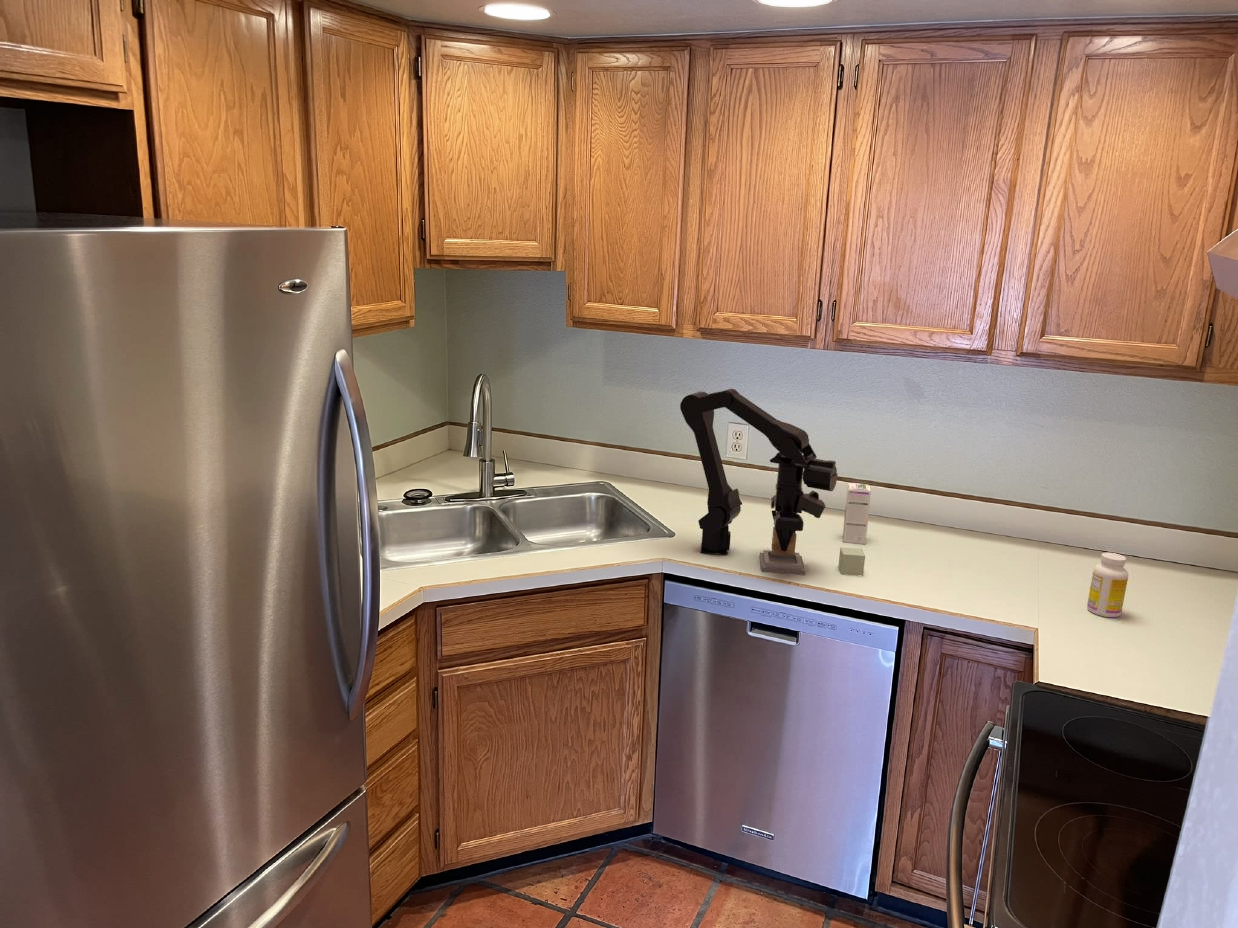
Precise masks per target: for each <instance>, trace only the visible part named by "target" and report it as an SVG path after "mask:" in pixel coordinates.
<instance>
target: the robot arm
mask: <svg viewBox="0 0 1238 928" xmlns="http://www.w3.org/2000/svg"><path fill="white" fill-rule="evenodd" d="M723 408H725V409H727V410H728V411H730V413H732V414H734V415H735V416H737V417H738V418H740V419H742V420H743V421H744V422H746V423H747V424H748V425H750V426H751V427H753V428H754V429H756V430H757V431H759V432H760V433H761V434H763V435H764V436H765V437H766V438H767V439H768V441H769V443H770V444H771V446H773V448H775V449H776V450H777V451H778V452H777V453H776V454H775V455H774V456H772V458H771V459H769V462H770V463H772V464H777V465H778V467H777V478H776V483H775V495H773V496H772V497H771V498H770V508H771V509H774V510H771V515H772V520H773V527H775V530H776V533H777V537H778V540H779V543H780V547H781V550H782V551H787V548H788V545H789V543H790V540H791V537H792V535H793V533H794V532H795V531H796V532H802V531H804V524H805V523H804V519H803V517H802V516H801V515H800V514H802V513H803V512H805V513H807V514H809V515H812V516H814V518H816V519H820V518H821V516H822V514H823V513H824V510H825V509H826V504H825V502H824V501H823V500H822V499H820V495H819V492H817V491H814V490H812V491H810V492H809V493H805V492H804V491H803V487H802V486H803V485H806V488H811V489H816V490H820V491H821V490H823V491H828V492H833V491H834V490H835V488H836V484H837V481H838V475H839V474H838V473H837V471H838V470H837V467H836V461H835V460H824V459H819V458H818V459H817V455H816V453H815V451H814V449H813V447H812V445H811V444H810V438H809V435H808V432H806V431H805V430H804V429H802V428H800V427H797V426H795V425H793V424H791V423H787V422H783V421H782V420H779V419H777V418H775V417H774V416H773V415H771V414H770V413H768V412H767V411H765V410H764V409H762V408H761V407H759V406H758V405H757V404H755V403H754V402H752V401H750V400H749V399H748V398H746V397H745V396H743V395H742V394H740V393H739V392H738V391H737V389H734V388H728V389H726V390H720V391H716V392H712V393H707V392H705V391H697V392H695V393H691V394H688V395H686V396H684V397H683V398H682V399H681V402H680V404H679V409H680V412H681V414H682V416H683V419H684V422H685V423H686V424H687V426H688V427H689V428H690V429H691V430H692V433H693V435H694V439H695V442H696V445H697V449H698V453H699V457H700V460H701V464H702V465H701V466H702V468H703V472H704V473H703V474H704V476H705V479H706V484H707V488H708V493H707V502H706V505H707V513H706V514H705V515H704V516H702V517H701V518H699V519H698V520H697V521H698V526H699V529H701V530H702V531H701V533H702V534H701V535H702V536H701V542H700V553H701V554H709V555H710V554H711V555H724V556H725V555H726V556H727V555H728V551H730V549H731V548H730V545H731V538H732V537H731V536H732V535H731V531H730V528H729V525H730V524H732V522H733V520H734V519H736V518H737V517H738V516H739V515H740V513H741V510H742V509H741V508H742V505H743V502H742V501H741V498H740V491H739V489H738V488H734V489H733V488H732V487H731V486H730V485H729V483H728V480H727V477H726V472H725V469H724V465H723V461H722V458H721V453H720V450H719V446H718V442H717V438H716V434H715V431H714V418H715V410H718V409H723Z"/></svg>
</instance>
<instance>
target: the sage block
mask: <svg viewBox="0 0 1238 928" xmlns="http://www.w3.org/2000/svg"><path fill="white" fill-rule="evenodd" d="M839 548H840V549H839V559H838V565H837V567H838V569H839V572H840V574H841V575H847V576H858V575H862V576H861V577H863V576H864V570H865V569H864V568H865V561H866V555H865V552H864V549H863V548H859V547H845V546H840V547H839Z"/></svg>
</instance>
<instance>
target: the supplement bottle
mask: <svg viewBox="0 0 1238 928" xmlns="http://www.w3.org/2000/svg"><path fill="white" fill-rule="evenodd" d="M1100 556H1101V557H1100V563H1098V564H1096V565H1095V566H1094V567H1093V571H1092V576H1091V581H1090V586H1089V593H1088V597H1087V603H1086V604H1087V605H1086V608H1087V610H1088V611H1089V612H1091V613H1093V614H1094V615H1097V616H1100V617H1105V618H1117V617H1120V616H1121V614H1122V611H1123V606H1124V603H1125V596H1126V591H1127V585H1128V580H1129V571H1128V570H1127V569H1126V568H1125V565H1126V564H1127V558H1126V556H1124V555H1121V554H1118V553H1114V552H1103V553H1101V555H1100Z"/></svg>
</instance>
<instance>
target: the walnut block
mask: <svg viewBox="0 0 1238 928" xmlns="http://www.w3.org/2000/svg"><path fill="white" fill-rule="evenodd" d="M796 532H797V531H795V532H794V533H793V535H792V537H791V540H790V543H789V545H788V548H787V551H782V550H781V547H780V543H779V540H778V537H777V533H776V530H775V527H774V526H773V529H772V538H771V551H772V552H773V554H779V555H791V556H794V555H795V552H796V546H797V545H796V542H797V533H796Z"/></svg>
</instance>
